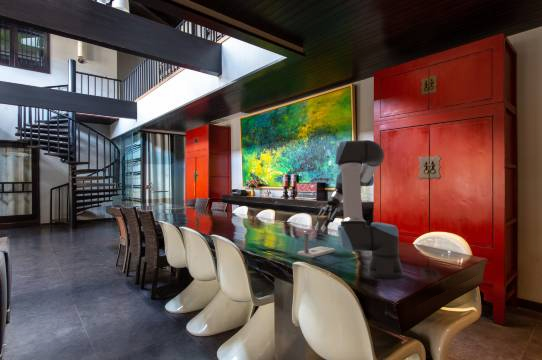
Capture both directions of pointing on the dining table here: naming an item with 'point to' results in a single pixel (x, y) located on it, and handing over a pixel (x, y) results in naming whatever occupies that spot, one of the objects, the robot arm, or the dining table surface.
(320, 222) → the orange and black block
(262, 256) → the dining table surface
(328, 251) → the base plate with post
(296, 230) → the bar
